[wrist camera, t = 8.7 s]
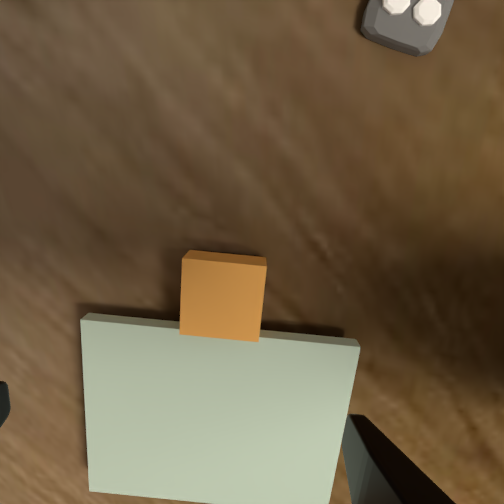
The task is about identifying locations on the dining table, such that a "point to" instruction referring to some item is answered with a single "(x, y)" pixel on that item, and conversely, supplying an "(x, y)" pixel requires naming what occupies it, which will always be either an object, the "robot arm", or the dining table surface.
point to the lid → (214, 396)
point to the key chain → (406, 23)
